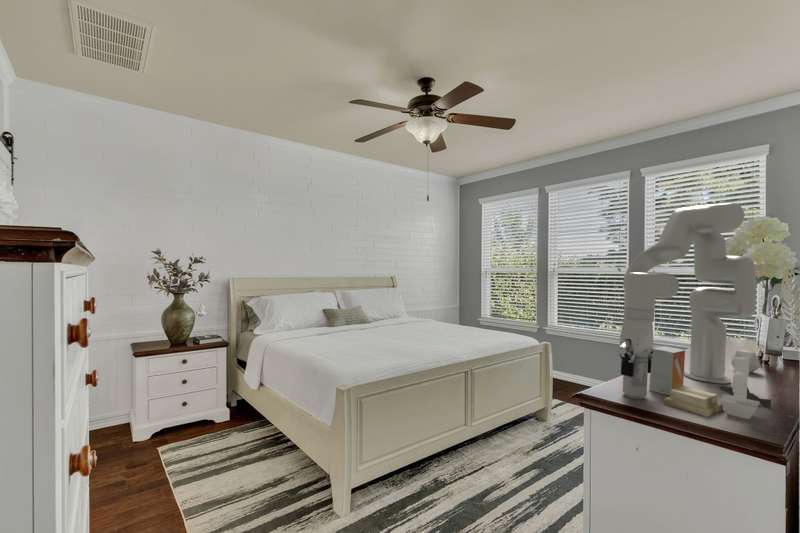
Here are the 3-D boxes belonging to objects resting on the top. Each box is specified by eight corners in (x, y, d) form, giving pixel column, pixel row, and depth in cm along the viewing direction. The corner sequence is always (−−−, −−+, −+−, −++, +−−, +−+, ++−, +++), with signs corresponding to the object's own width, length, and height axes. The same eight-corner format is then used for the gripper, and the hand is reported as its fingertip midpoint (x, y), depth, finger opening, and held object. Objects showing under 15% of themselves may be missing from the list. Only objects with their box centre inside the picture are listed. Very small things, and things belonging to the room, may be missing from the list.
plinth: (680, 398, 113) (681, 384, 113) (722, 409, 105) (723, 395, 105) (663, 403, 108) (664, 389, 108) (707, 416, 99) (707, 401, 99)
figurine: (718, 414, 101) (721, 357, 101) (724, 406, 107) (726, 352, 107) (756, 423, 96) (758, 363, 95) (759, 414, 102) (762, 357, 102)
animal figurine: (769, 410, 110) (775, 393, 109) (768, 413, 107) (774, 397, 106) (717, 391, 118) (722, 376, 117) (715, 394, 115) (720, 379, 114)
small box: (671, 396, 114) (673, 352, 114) (648, 390, 119) (650, 348, 119) (683, 392, 119) (685, 349, 118) (660, 386, 124) (662, 345, 124)
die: (737, 369, 151) (722, 349, 151) (764, 362, 145) (749, 341, 146) (740, 381, 145) (724, 360, 145) (768, 375, 139) (752, 352, 139)
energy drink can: (639, 393, 116) (641, 343, 116) (650, 400, 110) (653, 347, 110) (618, 392, 117) (620, 342, 116) (628, 399, 111) (630, 346, 110)
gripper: (640, 312, 121) (637, 367, 121) (609, 314, 111) (606, 373, 111) (667, 315, 114) (664, 373, 114) (636, 318, 105) (633, 381, 105)
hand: (635, 373), depth 113 cm, fingers open, 9 cm apart
